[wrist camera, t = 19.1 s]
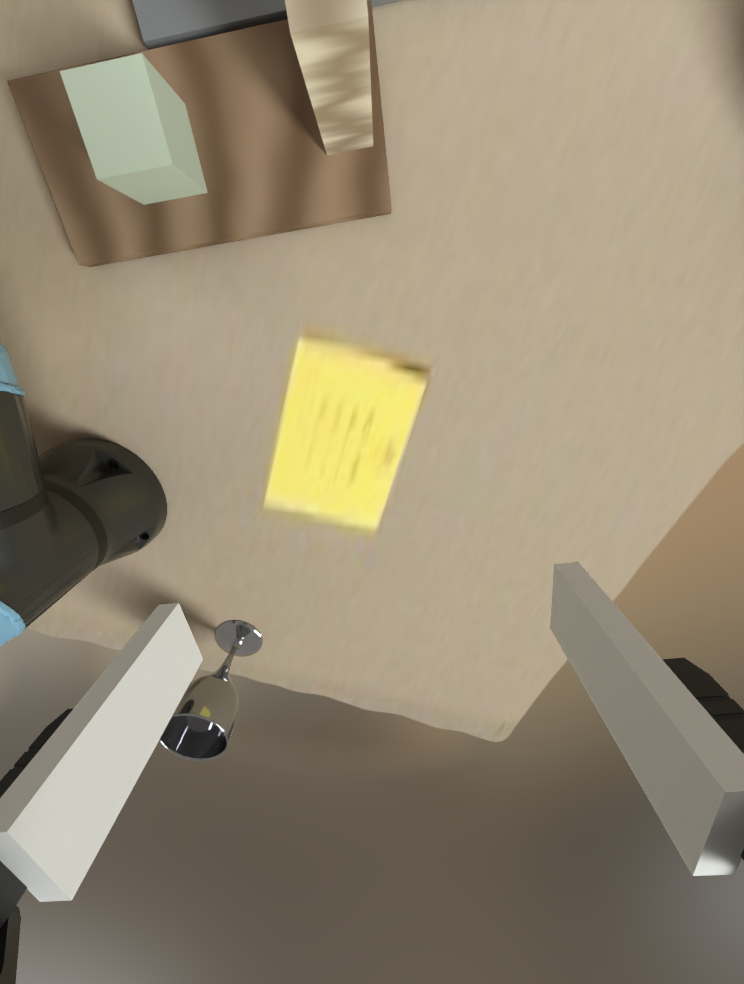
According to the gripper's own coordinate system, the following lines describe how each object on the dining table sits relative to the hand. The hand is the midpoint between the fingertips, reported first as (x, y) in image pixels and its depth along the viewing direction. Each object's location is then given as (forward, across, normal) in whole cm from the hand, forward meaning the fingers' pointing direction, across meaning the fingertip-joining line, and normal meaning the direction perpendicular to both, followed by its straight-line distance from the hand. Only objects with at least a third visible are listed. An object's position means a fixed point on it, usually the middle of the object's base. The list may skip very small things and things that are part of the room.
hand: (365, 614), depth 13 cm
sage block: (+30, -15, +26) cm, 42 cm away
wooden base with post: (+32, -11, +26) cm, 42 cm away
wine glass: (+32, -25, -30) cm, 50 cm away
